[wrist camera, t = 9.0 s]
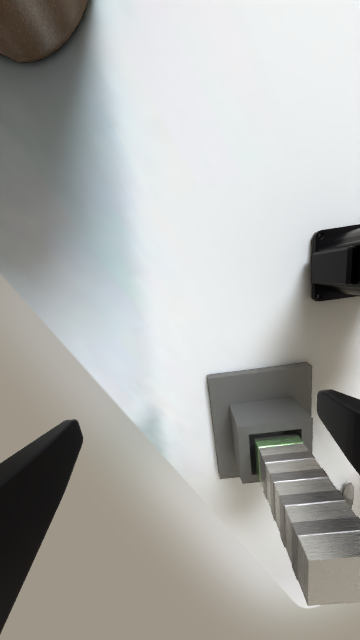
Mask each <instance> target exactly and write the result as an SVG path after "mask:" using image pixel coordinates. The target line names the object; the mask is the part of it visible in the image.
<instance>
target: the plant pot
mask: <svg viewBox="0 0 360 640" xmlns="http://www.w3.org/2000/svg"><path fill="white" fill-rule="evenodd" d="M87 1H88V0H0V54H2V55H4V56H6V57H8V58H10V59H12V60H14V61H16V62H19V63H22V62H32V61H36V60H40V59H42V58H45V57H47V56H49V55H50V54H52V53H53V52H55V51H56V50H58V49H59V48H60V47H61V46H62V45H63V44H64V43H65V42H66V41H67V40H68V39H69V38H70V36H71V35H72V34H73V32H74V31H75V29H76V28H77V26H78V24H79V22H80V20H81V18H82V16H83V13H84V11H85V8H86V5H87Z"/></svg>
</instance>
